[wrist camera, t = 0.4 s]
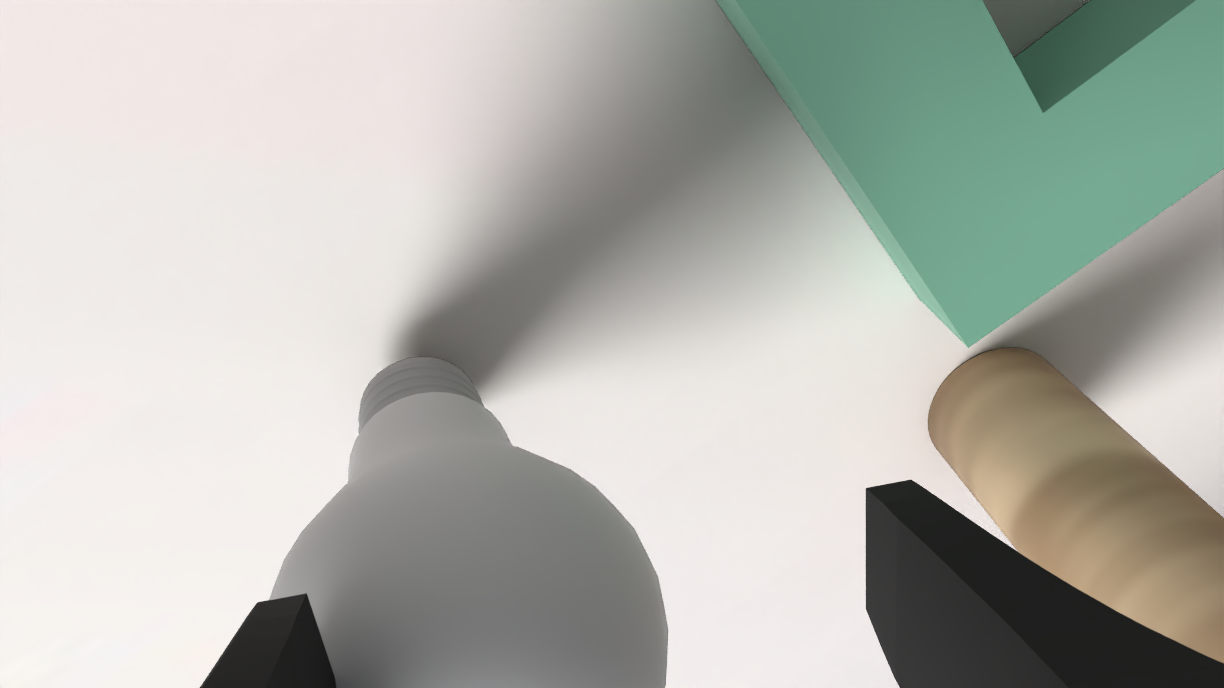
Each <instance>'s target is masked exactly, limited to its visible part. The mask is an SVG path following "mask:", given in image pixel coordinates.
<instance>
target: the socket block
mask: <svg viewBox="0 0 1224 688" xmlns="http://www.w3.org/2000/svg"><path fill="white" fill-rule="evenodd" d="M716 1H717V3H718V4H719V6H720V7H721V9H722V10H723V12H724V13H725V15H726V16H727V18H728V19H729V21H730V22H731V23H732V25H733V26H734V28H735V29H736V31H737V32H738V34H739V35H740V37H741V38H742V40H743V41H744V43H745V44H746V46H747V47H748V48H749V50H750V51H751V53H752V54H753V56H754V57H755V59H756V60H757V62H758V63H759V65H760V66H761V68H762V69H763V71H764V72H765V73H766V75H767V76H768V78H769V79H770V81H771V82H772V84H773V85H774V87H775V88H776V90H777V91H778V93H779V94H780V95H781V97H782V98H783V100H784V101H785V103H786V104H787V106H788V107H789V109H790V110H791V112H792V113H793V115H794V116H795V118H796V119H797V120H798V122H799V123H800V125H801V126H802V128H803V129H804V131H805V132H806V134H807V135H808V137H809V138H810V140H811V141H812V143H813V144H814V145H815V147H816V148H817V150H818V151H819V153H820V154H821V156H822V157H823V159H824V160H825V162H826V163H827V165H828V166H829V167H830V169H831V170H832V172H833V173H834V175H835V176H836V178H837V179H838V181H839V182H840V184H841V185H842V187H843V188H844V190H845V191H846V192H847V194H848V195H849V197H850V198H851V200H852V201H853V203H854V204H855V206H856V207H857V209H858V210H859V212H860V213H861V214H862V216H863V217H864V219H865V220H866V222H867V223H868V225H869V226H870V228H871V229H872V231H873V232H874V234H875V235H876V237H877V238H878V239H879V241H880V242H881V244H882V245H883V247H884V248H885V250H886V251H887V253H888V254H889V256H890V257H891V259H892V260H893V262H894V263H895V264H896V266H897V267H898V269H899V270H900V272H901V273H902V275H903V276H904V278H905V279H906V281H907V282H908V284H909V285H910V286H911V288H912V289H913V291H914V292H915V294H916V295H917V297H918V298H919V299H920V300H921V301H922V302H923V303H924V304H925V305H926V306H927V307H928V308H929V309H930V310H931V311H932V312H933V313H934V314H935V315H936V316H937V317H938V318H939V319H940V320H941V321H942V322H943V323H944V324H945V325H946V326H947V327H948V328H949V329H950V330H951V331H952V332H953V333H954V334H955V335H956V336H957V337H958V338H959V339H960V340H961V341H962V342H963V343H964V344H965V345H966V346H967V347H968V348H969V347H970V346H972V345H973V344H975V343H976V342H977V341H979V340H980V339H982V338H983V337H984V336H986V335H987V334H989V333H990V332H992V331H993V330H994V329H996V328H997V327H999V326H1000V325H1002V324H1003V323H1004V322H1006V321H1007V320H1009V319H1010V318H1012V317H1013V316H1014V315H1016V314H1017V313H1019V312H1020V311H1022V310H1023V309H1024V308H1026V307H1027V306H1029V305H1030V304H1032V303H1033V302H1034V301H1036V300H1037V299H1039V298H1040V297H1041V296H1043V295H1044V294H1046V293H1047V292H1049V291H1050V290H1051V289H1053V288H1054V287H1056V286H1057V285H1059V284H1060V283H1061V282H1063V281H1064V280H1066V279H1067V278H1069V277H1070V276H1071V275H1073V274H1074V273H1076V272H1077V271H1079V270H1080V269H1081V268H1083V267H1084V266H1086V265H1087V264H1089V263H1090V262H1091V261H1093V260H1094V259H1096V258H1097V257H1098V256H1100V255H1101V254H1103V253H1104V252H1106V251H1107V250H1108V249H1110V248H1111V247H1113V246H1114V245H1116V244H1117V243H1118V242H1120V241H1121V240H1123V239H1124V238H1126V237H1127V236H1128V235H1130V234H1131V233H1133V232H1134V231H1136V230H1137V229H1138V228H1140V227H1141V226H1143V225H1144V224H1146V223H1147V222H1148V221H1150V220H1151V219H1153V218H1154V217H1155V216H1157V215H1158V214H1160V213H1161V212H1163V211H1164V210H1165V209H1167V208H1168V207H1170V206H1171V205H1173V204H1174V203H1175V202H1177V201H1178V200H1180V199H1181V198H1183V197H1184V196H1185V195H1187V194H1188V193H1190V192H1191V191H1193V190H1194V189H1195V188H1197V187H1198V186H1200V185H1201V184H1203V183H1204V182H1205V181H1207V180H1208V179H1210V178H1211V177H1212V176H1214V175H1215V174H1217V173H1218V172H1220V171H1221V170H1222V169H1224V0H1090V1H1089V2H1088V3H1086V4H1085V5H1084V6H1082V7H1081V8H1080V9H1078V10H1077V11H1076V12H1074V13H1073V14H1072V15H1070V16H1069V17H1068V18H1066V19H1065V20H1064V21H1063V22H1061V23H1060V24H1059V25H1057V26H1056V27H1055V28H1053V29H1052V30H1051V31H1049V32H1048V33H1047V34H1045V35H1044V36H1043V37H1041V38H1040V39H1039V40H1037V41H1036V42H1035V43H1033V44H1032V45H1031V46H1029V47H1028V48H1027V49H1025V50H1024V51H1023V52H1021V53H1020V54H1019V55H1017V56H1016V57H1015V58H1013V56H1012V54H1011V53H1010V51H1009V49H1008V47H1007V45H1006V43H1005V41H1004V39H1003V38H1002V36H1001V34H1000V32H999V30H998V28H997V26H996V25H995V23H994V21H993V19H992V17H991V15H990V13H989V12H988V10H987V8H986V6H985V4H984V2H983V0H716Z"/></svg>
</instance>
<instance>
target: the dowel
mask: <svg viewBox="0 0 1224 688" xmlns="http://www.w3.org/2000/svg"><path fill="white" fill-rule="evenodd" d="M928 430H929V435H930V438H931V440H932V443H933V444H934V446H935V448H936V449H937V450H938V451H939V453H940V454H941V455H942V457H943V458H944V459H945V460H946V462H947V463H948V464H949V465H950V467H951V468H952V469H953V470H954V472H955V473H956V474H957V475H958V477H959V478H960V479H961V480H962V482H963V483H964V484H965V486H966V487H967V488H968V489H969V491H970V492H971V493H972V494H973V496H974V497H975V498H976V499H977V501H978V502H979V503H980V504H981V506H982V507H983V508H984V509H985V511H986V512H987V513H988V514H989V516H990V517H991V518H992V520H993V521H994V522H995V523H996V525H997V526H998V527H999V528H1000V530H1001V531H1002V532H1003V533H1004V535H1005V536H1006V537H1007V538H1008V540H1009V541H1010V542H1011V543H1012V545H1013V546H1014V547H1015V549H1016V550H1017V551H1018V552H1019V553H1020V554H1022V555H1023V556H1025V557H1027V558H1028V559H1030V560H1031V561H1033V562H1034V563H1036V564H1038V565H1039V566H1041V567H1042V568H1044V569H1045V570H1047V571H1049V572H1050V573H1052V574H1054V575H1055V576H1057V577H1059V578H1060V579H1062V580H1063V581H1065V582H1067V583H1068V584H1070V585H1072V586H1073V587H1075V588H1077V589H1079V590H1080V591H1082V592H1084V593H1086V594H1087V595H1089V596H1091V597H1093V598H1094V599H1096V600H1098V601H1100V602H1101V603H1103V604H1105V605H1107V606H1108V607H1110V608H1112V609H1114V610H1115V611H1117V612H1119V613H1121V614H1123V615H1125V616H1127V617H1129V618H1130V619H1132V620H1134V621H1136V622H1138V623H1140V624H1142V625H1144V626H1146V627H1148V628H1150V629H1152V630H1154V631H1156V632H1158V633H1160V634H1162V635H1164V636H1166V637H1168V638H1170V639H1172V640H1174V641H1177V642H1179V643H1181V644H1183V645H1185V646H1187V647H1189V648H1191V649H1193V650H1195V651H1197V652H1199V653H1201V654H1204V655H1206V656H1208V657H1210V658H1213V659H1215V660H1217V661H1219V662H1222V663H1224V518H1223V517H1222V516H1221V515H1220V514H1219V513H1217V512H1216V511H1215V510H1214V509H1213V508H1212V507H1211V506H1210V505H1208V504H1207V503H1206V502H1205V501H1204V500H1203V499H1202V498H1201V497H1199V496H1198V495H1197V494H1196V493H1195V492H1194V491H1193V490H1192V489H1190V488H1189V487H1188V486H1187V485H1186V484H1185V483H1184V482H1183V481H1181V480H1180V479H1179V478H1178V477H1177V476H1176V475H1175V474H1174V473H1172V472H1171V471H1170V470H1169V469H1168V468H1167V467H1166V466H1165V465H1163V464H1162V463H1161V462H1160V461H1159V460H1158V459H1157V458H1155V457H1154V456H1153V455H1152V454H1151V453H1150V452H1149V451H1148V450H1146V449H1145V448H1144V447H1143V446H1142V445H1141V444H1140V443H1139V442H1137V441H1136V440H1135V439H1134V438H1133V437H1132V436H1131V435H1130V434H1128V433H1127V432H1126V431H1125V430H1124V429H1123V428H1122V427H1121V426H1119V425H1118V424H1117V423H1116V422H1115V421H1114V420H1113V419H1112V418H1110V417H1109V416H1108V415H1107V414H1106V413H1105V412H1104V411H1103V410H1101V409H1100V408H1099V407H1098V406H1097V405H1096V404H1095V403H1093V402H1092V401H1091V400H1090V399H1089V398H1088V397H1087V396H1086V395H1084V394H1083V393H1082V392H1081V391H1080V390H1079V389H1078V388H1077V387H1075V386H1074V385H1073V384H1072V383H1071V382H1070V381H1069V380H1068V379H1066V378H1065V377H1064V376H1063V375H1062V374H1061V373H1060V372H1059V371H1057V370H1056V369H1055V368H1054V367H1053V366H1052V365H1051V364H1050V363H1048V362H1047V361H1046V360H1045V359H1044V358H1043V357H1041V356H1040V355H1038V354H1036V353H1034V352H1032V351H1029V350H1025V349H1021V348H1001V349H995V350H991V351H987V352H985V353H982V354H979V355H977V356H975V357H973V358H971V359H970V360H968V361H966V362H965V363H963V364H962V365H961V366H959V367H958V368H957V369H955V370H954V371H953V372H952V373H951V374H950V375H949V376H948V377H947V378H946V380H945V381H944V382H943V383H942V385H941V386H940V388H939V389H938V391H937V392H936V394H935V396H934V398H933V401H932V403H931V406H930V410H929V415H928Z"/></svg>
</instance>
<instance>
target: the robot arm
mask: <svg viewBox="0 0 1224 688" xmlns="http://www.w3.org/2000/svg"><path fill="white" fill-rule="evenodd" d="M866 610H867V613H868V615H869V618H870V620H871V623H872V625H873V627H874V630H875V632H876V635H877V637H878V640H879V642H880V645H881V647H882V650H883V652H884V654H885V657H886V659H887V661H888V664H889V666H890V668H891V670H892V673H893V675H894V677H895V679H896V681H897V683H898V685H899V687H900V688H1224V663H1222V662H1219V661H1217V660H1215V659H1213V658H1210V657H1208V656H1206V655H1204V654H1201V653H1199V652H1197V651H1195V650H1193V649H1191V648H1189V647H1187V646H1185V645H1183V644H1181V643H1179V642H1177V641H1174V640H1172V639H1170V638H1168V637H1166V636H1164V635H1162V634H1160V633H1158V632H1156V631H1154V630H1152V629H1150V628H1148V627H1146V626H1144V625H1142V624H1140V623H1138V622H1136V621H1134V620H1132V619H1130V618H1129V617H1127V616H1125V615H1123V614H1121V613H1119V612H1117V611H1115V610H1114V609H1112V608H1110V607H1108V606H1107V605H1105V604H1103V603H1101V602H1100V601H1098V600H1096V599H1094V598H1093V597H1091V596H1089V595H1087V594H1086V593H1084V592H1082V591H1080V590H1079V589H1077V588H1075V587H1073V586H1072V585H1070V584H1068V583H1067V582H1065V581H1063V580H1062V579H1060V578H1059V577H1057V576H1055V575H1054V574H1052V573H1050V572H1049V571H1047V570H1045V569H1044V568H1042V567H1041V566H1039V565H1038V564H1036V563H1034V562H1033V561H1031V560H1030V559H1028V558H1027V557H1025V556H1023V555H1022V554H1020V553H1019V552H1017V551H1016V550H1014V549H1013V548H1011V547H1010V546H1008V545H1007V544H1005V543H1004V542H1002V541H1001V540H999V539H998V538H996V537H995V536H993V535H992V534H990V533H989V532H987V531H986V530H984V529H983V528H981V527H980V526H978V525H977V524H975V523H974V522H972V521H971V520H970V519H968V518H967V517H965V516H964V515H962V514H961V513H959V512H958V511H956V510H955V509H954V508H952V507H951V506H949V505H948V504H946V503H945V502H944V501H942V500H941V499H939V498H938V497H936V496H935V495H933V494H932V493H930V492H929V491H928V490H926V489H925V488H923V487H922V486H920V485H919V484H917V483H916V482H914V481H912V480H907V481H901V482H896V483H891V484H886V485H880V486H875V487H870V488H866ZM200 688H336V682H335V676H334V673H333V670H332V667H331V664H330V661H329V658H328V655H327V652H326V649H325V646H324V643H323V640H322V637H321V634H320V631H319V628H318V625H317V622H316V619H315V616H314V613H313V610H312V607H311V604H310V601H309V598H308V595H307V593H305V594H300V595H295V596H290V597H284V598H279V599H274V600H268V601H263V602H258V603H257V604H256V605H255V606H254V608H253V609H252V610H251V612H250V613H249V615H248V616H247V618H246V619H245V621H244V622H243V624H242V625H241V627H240V628H239V630H238V631H237V633H236V634H235V636H234V637H233V639H232V640H231V642H230V643H229V645H228V646H227V648H226V649H225V651H224V652H223V654H222V655H221V657H220V658H219V660H218V661H217V663H216V664H215V666H214V667H213V669H212V670H211V672H210V673H209V675H208V676H207V678H206V679H205V681H204V682H203V684H202V685H201V687H200Z"/></svg>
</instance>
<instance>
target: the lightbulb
mask: <svg viewBox="0 0 1224 688" xmlns="http://www.w3.org/2000/svg"><path fill="white" fill-rule="evenodd" d="M305 593H307V595H308V598H309V601H310V604H311V607H312V610H313V613H314V616H315V619H316V622H317V625H318V628H319V631H320V634H321V637H322V640H323V643H324V646H325V649H326V652H327V655H328V658H329V661H330V664H331V667H332V670H333V673H334V676H335V682H336V688H665V685H666V668H667V646H668V626H667V621H666V615H665V609H664V604H663V599H662V594H661V589H660V584H659V579H658V576H657V574H656V572H655V569H654V567H653V565H652V563H651V561H650V559H649V557H648V555H647V553H646V551H645V549H644V547H643V545H642V543H641V541H640V539H639V537H638V535H637V533H636V531H635V529H634V528H633V527H632V526H631V524H630V523H629V522H628V521H627V520H626V519H625V518H624V516H623V515H622V514H621V513H620V512H619V511H618V510H617V509H616V507H615V506H614V505H613V504H612V503H611V502H610V501H609V500H608V499H607V498H606V497H605V496H604V495H603V494H602V493H601V492H600V491H599V490H598V489H597V488H596V487H595V486H594V485H592V484H591V483H589V482H588V481H586V480H585V479H584V478H582V477H581V476H579V475H578V474H576V473H575V472H574V471H572V470H571V469H568V468H566V467H564V466H561V465H559V464H557V463H554V462H552V461H550V460H547V459H545V458H543V457H540V456H538V455H536V454H533V453H531V452H529V451H526V450H524V449H521V448H519V447H515V446H513V445H512V444H511V442H510V440H509V438H508V436H507V434H506V432H505V430H504V429H503V427H502V425H501V423H500V422H499V421H498V420H497V418H496V417H495V416H494V415H493V414H492V413H491V412H490V411H489V410H487V409H486V408H485V407H484V405H483V404H482V401H481V398H480V396H479V394H478V393H477V391H476V389H475V387H474V385H473V384H472V382H471V380H470V378H469V377H468V376H467V375H466V374H465V373H464V372H463V371H462V370H461V369H459V368H458V367H457V366H455V365H454V364H452V363H449V362H447V361H445V360H441V359H437V358H433V357H415V358H408V359H405V360H401V361H398V362H396V363H394V364H392V365H390V366H388V367H386V368H385V369H383V370H382V371H381V372H379V373H378V374H377V375H376V376H375V377H374V378H373V379H372V380H371V381H370V383H369V384H368V386H367V388H366V389H365V391H364V393H363V396H362V399H361V404H360V412H359V435H358V437H357V439H356V441H355V443H354V446H353V449H352V451H351V454H350V462H349V476H348V484H346V485H345V486H344V487H343V488H342V489H341V490H340V491H339V492H338V493H337V494H336V495H335V496H334V497H333V499H332V500H331V501H330V502H329V503H328V504H327V505H326V506H325V507H324V508H323V509H322V510H321V511H320V512H319V513H318V515H317V516H316V517H315V518H314V519H313V520H312V521H311V522H310V523H309V524H308V525H307V527H306V528H305V529H304V530H303V531H302V532H301V534H300V535H299V537H298V539H297V540H296V542H295V543H294V545H293V547H292V548H291V550H290V551H289V553H288V555H287V556H286V558H285V559H284V562H283V564H282V567H281V569H280V572H279V575H278V577H277V580H276V582H275V585H274V588H273V591H272V593H271V596H270V599H269V600H274V599H279V598H284V597H290V596H295V595H300V594H305Z"/></svg>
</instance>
